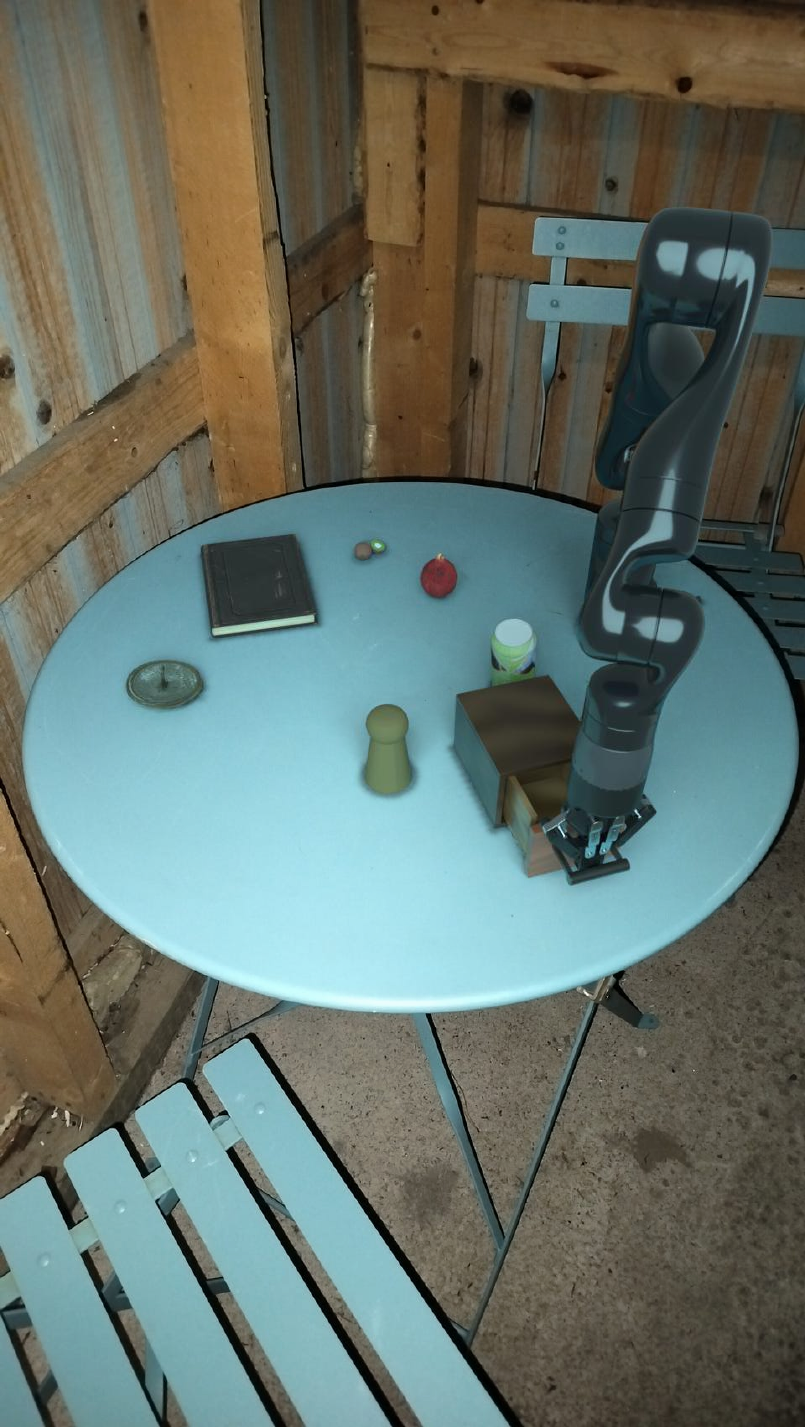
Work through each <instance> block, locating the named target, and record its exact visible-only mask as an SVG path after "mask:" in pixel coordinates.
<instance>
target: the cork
mask: <svg viewBox="0 0 805 1427" xmlns="http://www.w3.org/2000/svg"><path fill="white" fill-rule="evenodd" d="M409 726H410V721H409V718H408V715H407V712H405V711H404V710H403V709H402V708H401V707H400V706H398V705H395V704H392V703H384V704H379V705H377V706H375V707H373V708H372V709H371V710H370V711H369V713H368V714H367V716H366V720H365V728H366V731H367V734H368V736H369V737H370V738H369V743H368V744H369V745H368V751H367V757H366V765H365V772H364V780H365V781H364V782H365V784H366V785H367V786H368V788H369V789H371V790H372V791H374V792H375V793H379V794H382V795H392V794H397V793H400V792H402V791H404V790H406V789H407V787H408V786H409V785H410V783H412V782H411V781H412V777H413V776H412V769H411V764H410V758H409V752H408V747H407V741H406V735H407V734H408V731H409Z"/></svg>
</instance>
